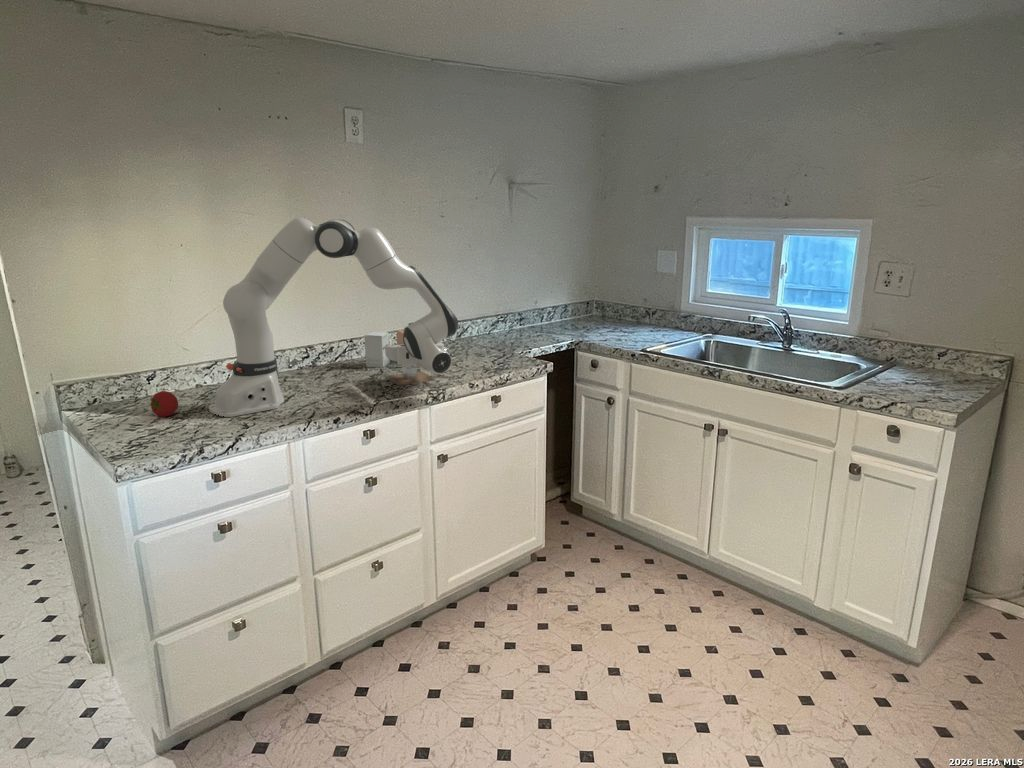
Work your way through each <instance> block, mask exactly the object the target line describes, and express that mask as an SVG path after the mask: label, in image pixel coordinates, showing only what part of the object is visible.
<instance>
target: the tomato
mask: <svg viewBox="0 0 1024 768" xmlns="http://www.w3.org/2000/svg"><path fill="white" fill-rule="evenodd" d="M150 399H151V400H150V403H149V405H150V408H151V411H152V412H153V413H154V415H156V417H161V418H168V417H170V415H171V416H173V415H174V414H175V413H176V411H177V410H178V409H179V401H178V398H177V397H176V395H175V394H174V393H172V392H170V391H165V390H162V391H161V390H160V391H159V392H156V393H154V395H153V396H151V397H150ZM167 416H168V417H167Z"/></svg>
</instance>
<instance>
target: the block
mask: <svg viewBox="0 0 1024 768" xmlns="http://www.w3.org/2000/svg"><path fill="white" fill-rule="evenodd" d="M401 368H402V374H403V378H405V379H406V380H410V379H417V378H418V377H417V371H418V366H413V365H402V367H401Z"/></svg>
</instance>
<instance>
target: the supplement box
mask: <svg viewBox="0 0 1024 768" xmlns="http://www.w3.org/2000/svg"><path fill="white" fill-rule="evenodd" d="M389 336H390V335H389V332H387V331H384V332H383V331H370V332H369V333H367V334H364V336H363V337H364V339H363V340H364V351H365V353H364V355H365V357H364V358H365V367H368V368H384V367H387V366H388V365H389V364H390V363H391V359H389V358H387V357H386V354H385V347H386V346H390V340H389V338H390V337H389Z"/></svg>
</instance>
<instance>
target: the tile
mask: <svg viewBox="0 0 1024 768" xmlns="http://www.w3.org/2000/svg"><path fill="white" fill-rule="evenodd" d="M384 377H385V378H387V379H388V380H390V381H391V382H393V383H395V384H396V385H398V386H405V385H409V384H418V383H423V382H425V383H426V382H430V381H431V382H432V381H436V380H437V379H436V378H434V377H432V376H430V375H429V374H426V373H424V372H423V371H422V370H419V371H418V370H417V377H418V378H417V379H410V380H406V379H405V378H403V373H396V374H390V375H384Z"/></svg>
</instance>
